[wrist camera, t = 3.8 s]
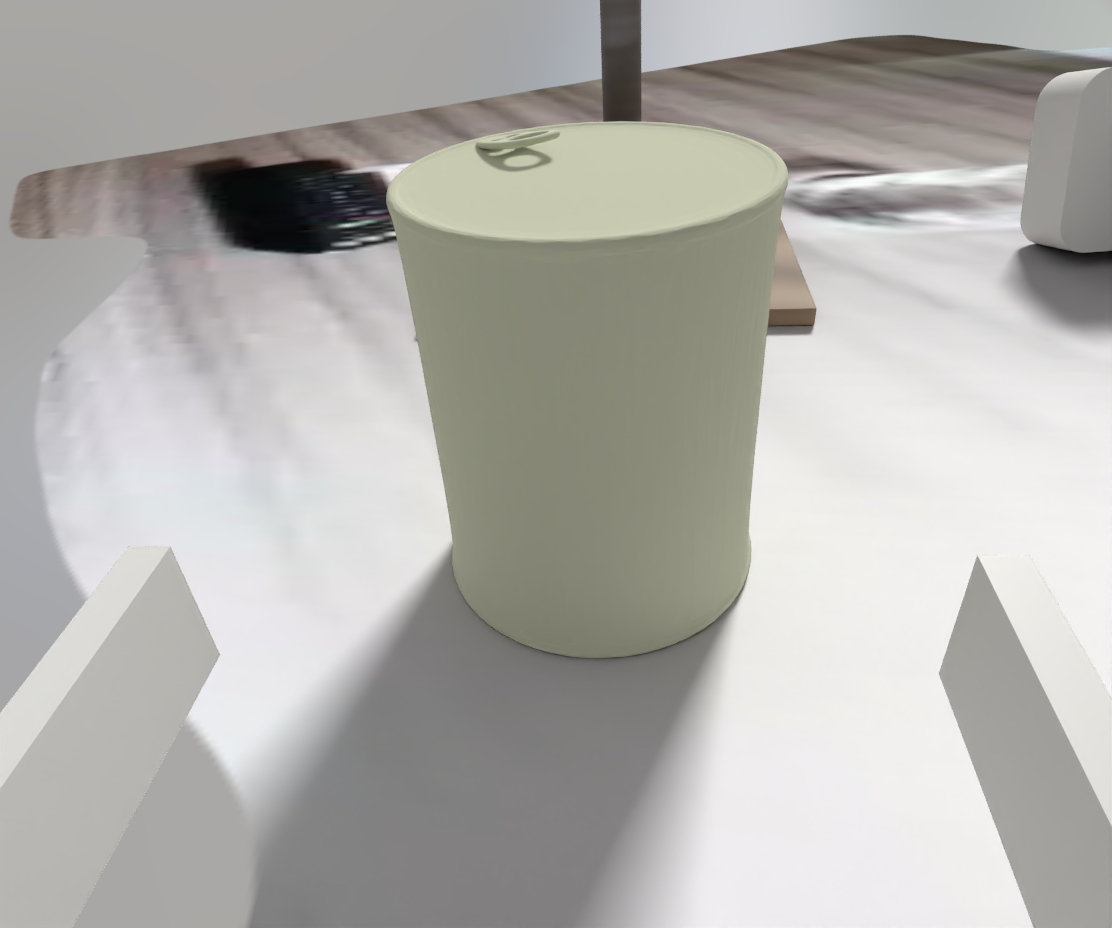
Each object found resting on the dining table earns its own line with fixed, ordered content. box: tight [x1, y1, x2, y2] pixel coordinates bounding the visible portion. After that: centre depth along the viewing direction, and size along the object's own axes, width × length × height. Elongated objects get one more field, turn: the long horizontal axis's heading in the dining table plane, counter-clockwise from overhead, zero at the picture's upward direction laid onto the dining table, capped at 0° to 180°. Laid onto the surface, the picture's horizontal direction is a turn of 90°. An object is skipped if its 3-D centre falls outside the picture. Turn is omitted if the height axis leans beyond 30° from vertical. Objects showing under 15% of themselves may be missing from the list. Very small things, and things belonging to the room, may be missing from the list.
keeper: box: [600, 0, 816, 325], centre depth 42 cm, size 23×18×17 cm
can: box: [386, 121, 788, 658], centre depth 22 cm, size 9×9×12 cm
